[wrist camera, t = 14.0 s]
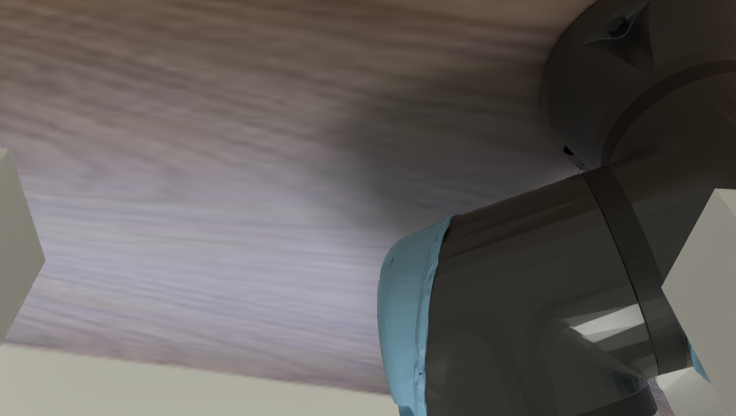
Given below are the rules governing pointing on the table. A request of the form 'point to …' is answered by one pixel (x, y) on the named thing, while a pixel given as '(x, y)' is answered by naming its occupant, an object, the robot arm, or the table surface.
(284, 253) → the table surface
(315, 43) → the table surface
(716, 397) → the cylinder with rectangular tab
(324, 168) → the table surface
